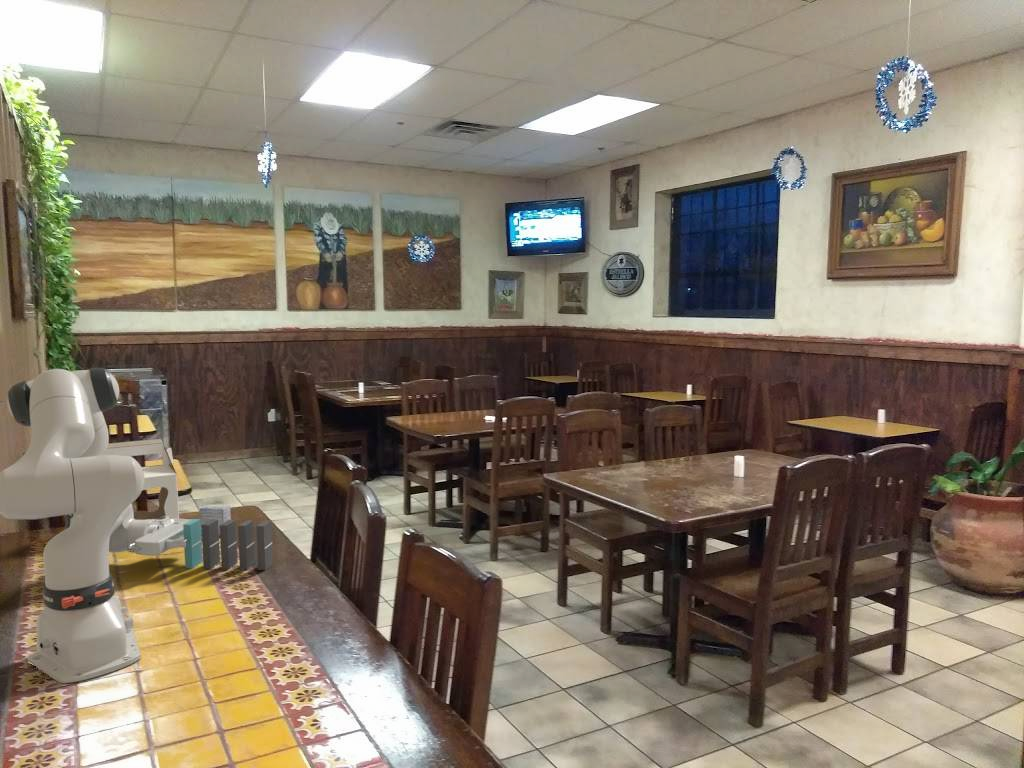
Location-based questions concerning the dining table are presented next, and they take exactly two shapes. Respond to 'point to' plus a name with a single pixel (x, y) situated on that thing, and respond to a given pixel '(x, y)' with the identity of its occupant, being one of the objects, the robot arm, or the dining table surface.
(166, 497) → the gable box
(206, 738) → the dining table surface
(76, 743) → the dining table surface
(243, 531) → the black domino
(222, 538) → the black domino
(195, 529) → the teal domino
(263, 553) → the black domino
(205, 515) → the medicine box
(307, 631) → the dining table surface
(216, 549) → the black domino
